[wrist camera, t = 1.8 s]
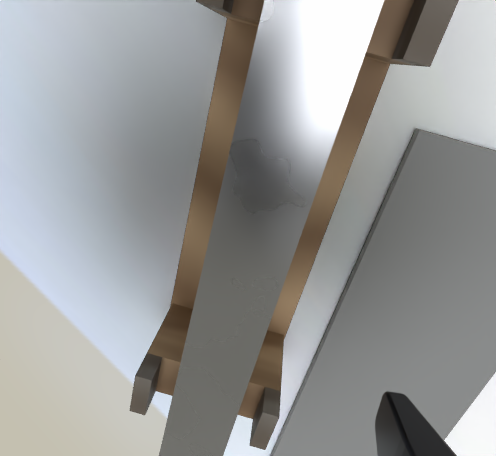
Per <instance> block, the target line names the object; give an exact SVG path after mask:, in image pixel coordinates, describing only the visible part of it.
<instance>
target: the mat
mask: <svg viewBox="0 0 496 456" xmlns="http://www.w3.org/2000/svg"><path fill="white" fill-rule="evenodd" d="M495 372H496V151H495V150H491V149H488V148H484V147H481V146H477V145H473V144H470V143H466V142H463V141H459V140H456V139H452V138H449V137H445V136H441V135H438V134H434V133H431V132H427V131H424V130H420V129H417V128H416V130H415V132H414V134H413V136H412V139H411V141H410V143H409V145H408V148H407V150H406V152H405V154H404V157H403V159H402V161H401V163H400V166H399V168H398V170H397V172H396V175H395V177H394V179H393V181H392V184H391V186H390V188H389V190H388V192H387V195H386V197H385V199H384V201H383V204H382V206H381V208H380V210H379V213H378V215H377V217H376V219H375V222H374V224H373V226H372V228H371V231H370V233H369V235H368V237H367V240H366V242H365V244H364V246H363V249H362V251H361V253H360V255H359V258H358V260H357V262H356V264H355V267H354V269H353V271H352V273H351V276H350V278H349V280H348V282H347V285H346V287H345V289H344V291H343V294H342V296H341V298H340V300H339V303H338V305H337V307H336V309H335V312H334V314H333V316H332V318H331V321H330V323H329V325H328V327H327V330H326V332H325V334H324V336H323V339H322V341H321V343H320V345H319V348H318V350H317V352H316V354H315V357H314V359H313V361H312V363H311V365H310V368H309V370H308V372H307V374H306V377H305V379H304V381H303V383H302V386H301V388H300V390H299V392H298V395H297V397H296V399H295V401H294V404H293V406H292V408H291V410H290V413H289V415H288V417H287V419H286V422H285V424H284V426H283V428H282V431H281V433H280V435H279V437H278V440H277V442H276V444H275V446H274V449H273V451H272V453H271V455H270V456H378V455H377V445H376V434H375V418H376V415H377V411H378V408H379V405H380V402H381V399H382V396H383V394H384V392H386V391H389V392H396V393H402V394H404V395H406V396H407V397H408V398H409V399H410V401H411V402H412V403H413V404H414V405H415V407H416V408H417V409H418V410H419V411H420V413H421V414H422V415H423V416H424V417H425V418H426V420H427V421H428V422H429V423H430V424H431V426H432V427H433V428H434V429H435V430H436V432H437V433H438V434H439V435H440V436H441V438H442V439H443V440H445V438H446V437H447V436H448V434H449V433H450V432H451V430H452V429H453V428H454V426H455V425H456V424H457V422H458V421H459V420H460V418H461V417H462V416H463V415H464V413H465V412H466V411H467V409H468V408H469V407H470V405H471V404H472V403H473V401H474V400H475V399H476V397H477V396H478V395H479V393H480V392H481V391H482V389H483V388H484V387H485V385H486V384H487V383H488V381H489V380H490V379H491V377H492V376H493V375H494V373H495Z"/></svg>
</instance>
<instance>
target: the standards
mask: <svg viewBox="0 0 496 456" xmlns="http://www.w3.org/2000/svg"><path fill="white" fill-rule="evenodd" d="M458 1H459V0H384V2H383V5H382V8H381V11H380V14H379V16H378V19H377V22H376V25H375V28H374V31H373V33H372V36H371V39H370V42H369V45H368V47H367V50H366V53H365V56H364V59H363V62H362V64H361V67H360V70H359V73H358V76H357V79H356V81H355V84H354V87H353V90H352V93H351V95H350V98H349V101H348V104H347V107H346V110H345V112H344V115H343V118H342V121H341V124H340V127H339V129H338V132H337V135H336V138H335V141H334V143H333V146H332V149H331V152H330V155H329V158H328V160H327V163H326V166H325V169H324V172H323V175H322V177H321V180H320V183H319V186H318V189H317V191H316V194H315V197H314V200H313V203H312V206H311V208H310V211H309V214H308V217H307V220H306V223H305V225H304V228H303V231H302V234H301V237H300V239H299V242H298V245H297V248H296V251H295V254H294V256H293V259H292V262H291V265H290V268H289V271H288V273H287V276H286V279H285V282H284V285H283V287H282V290H281V293H280V296H279V299H278V302H277V304H276V307H275V310H274V313H273V316H272V319H271V321H270V324H269V327H268V330H267V333H266V335H265V338H264V341H263V344H262V347H261V350H260V352H259V355H258V358H257V361H256V364H255V367H254V369H253V372H252V375H251V378H250V381H249V383H248V386H247V389H246V392H245V395H244V398H243V400H242V403H241V406H240V409H239V412H238V415H241V416H244V417H248V418H251V419H253V423H252V431H251V438H250V446H253V447H257V448H260V449H263V450H265V449H266V447H267V444H268V442H269V440H270V437H271V435H272V433H273V431H274V428H275V426H276V424H277V421H278V419H279V412H280V395H281V377H282V359H283V342H284V338H285V335H286V333H287V330H288V328H289V325H290V322H291V320H292V317H293V315H294V312H295V309H296V307H297V304H298V302H299V299H300V297H301V294H302V291H303V289H304V286H305V284H306V281H307V278H308V276H309V273H310V271H311V268H312V265H313V263H314V260H315V258H316V255H317V252H318V250H319V247H320V245H321V242H322V239H323V237H324V234H325V232H326V229H327V226H328V224H329V221H330V219H331V216H332V213H333V211H334V208H335V206H336V203H337V200H338V198H339V195H340V193H341V190H342V188H343V185H344V182H345V180H346V177H347V175H348V172H349V169H350V167H351V164H352V162H353V159H354V156H355V154H356V151H357V149H358V146H359V143H360V141H361V138H362V136H363V133H364V130H365V128H366V125H367V123H368V120H369V117H370V115H371V112H372V110H373V107H374V104H375V102H376V99H377V97H378V94H379V91H380V89H381V86H382V84H383V81H384V78H385V76H386V73H387V71H388V68H389V66H390V64H400V65H414V66H428V67H430V66H431V63H432V61H433V59H434V56H435V54H436V52H437V49H438V47H439V45H440V42H441V40H442V38H443V35H444V33H445V31H446V29H447V26H448V24H449V22H450V19H451V17H452V15H453V12H454V10H455V8H456V5H457V3H458ZM196 2H198V3H200V4H202V5H204V6H206V7H207V8H209V9H211V10H213V11H215V12H217V13H219V14H220V15H222V16H224V17H226V18H227V22H226V27H225V32H224V37H223V42H222V47H221V52H220V57H219V62H218V67H217V72H216V78H215V83H214V88H213V93H212V98H211V103H210V108H209V113H208V118H207V123H206V128H205V133H204V138H203V144H202V149H201V154H200V159H199V164H198V169H197V174H196V179H195V184H194V189H193V194H192V199H191V204H190V209H189V215H188V220H187V225H186V230H185V235H184V240H183V245H182V250H181V255H180V260H179V265H178V270H177V275H176V281H175V286H174V291H173V296H172V301H171V306H170V309H169V311H168V313H167V315H166V317H165V319H164V321H163V323H162V325H161V327H160V329H159V331H158V333H157V335H156V337H155V339H154V340H153V342H152V344H151V346H150V348H149V350H148V352H147V354H146V356H145V358H144V360H143V362H142V364H141V366H140V368H139V370H138V371H137V373H136V375H135V381H134V387H133V393H132V400H131V405H130V411H132V412H136V413H139V414H142V415H145V414H146V412H147V410H148V407H149V405H150V403H151V400H152V398H153V396H154V393H155V391H158V392H161V393H165V394H168V395H172V396H173V393H174V389H175V384H176V380H177V376H178V371H179V367H180V363H181V359H182V354H183V350H184V346H185V341H186V337H187V333H188V328H189V324H190V320H191V315H192V311H193V307H194V302H195V298H196V294H197V289H198V285H199V281H200V276H201V272H202V268H203V264H204V259H205V255H206V251H207V246H208V242H209V238H210V233H211V229H212V225H213V220H214V216H215V212H216V207H217V203H218V199H219V194H220V190H221V186H222V181H223V177H224V173H225V169H226V164H227V160H228V156H229V151H230V147H231V143H232V138H233V134H234V130H235V125H236V121H237V117H238V112H239V108H240V104H241V99H242V95H243V91H244V87H245V82H246V78H247V74H248V69H249V65H250V61H251V56H252V52H253V48H254V43H255V39H256V35H257V30H258V26H259V22H260V17H261V13H262V9H263V4H264V0H196Z"/></svg>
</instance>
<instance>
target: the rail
mask: <svg viewBox="0 0 496 456" xmlns="http://www.w3.org/2000/svg"><path fill="white" fill-rule="evenodd" d="M383 2H384V0H264V4H263V9H262V13H261V17H260V22H259V26H258V30H257V35H256V39H255V43H254V48H253V52H252V56H251V61H250V65H249V69H248V74H247V78H246V82H245V87H244V91H243V95H242V99H241V104H240V108H239V112H238V117H237V121H236V125H235V130H234V134H233V138H232V143H231V147H230V151H229V156H228V160H227V164H226V169H225V173H224V177H223V181H222V186H221V190H220V194H219V199H218V203H217V207H216V212H215V216H214V220H213V225H212V229H211V233H210V238H209V242H208V246H207V251H206V255H205V259H204V264H203V268H202V272H201V276H200V281H199V285H198V289H197V294H196V298H195V302H194V307H193V311H192V315H191V320H190V324H189V328H188V333H187V337H186V341H185V346H184V350H183V354H182V359H181V363H180V367H179V371H178V376H177V380H176V384H175V389H174V393H173V397H172V402H171V406H170V410H169V415H168V419H167V423H166V428H165V432H164V437H163V441H162V445H161V449H160V453H159V456H223V454H224V451H225V448H226V446H227V443H228V440H229V437H230V434H231V431H232V429H233V426H234V423H235V420H236V417H237V415H238V412H239V409H240V406H241V403H242V400H243V398H244V395H245V392H246V389H247V386H248V383H249V381H250V378H251V375H252V372H253V369H254V367H255V364H256V361H257V358H258V355H259V352H260V350H261V347H262V344H263V341H264V338H265V335H266V333H267V330H268V327H269V324H270V321H271V319H272V316H273V313H274V310H275V307H276V304H277V302H278V299H279V296H280V293H281V290H282V287H283V285H284V282H285V279H286V276H287V273H288V271H289V268H290V265H291V262H292V259H293V256H294V254H295V251H296V248H297V245H298V242H299V239H300V237H301V234H302V231H303V228H304V225H305V223H306V220H307V217H308V214H309V211H310V208H311V206H312V203H313V200H314V197H315V194H316V191H317V189H318V186H319V183H320V180H321V177H322V175H323V172H324V169H325V166H326V163H327V160H328V158H329V155H330V152H331V149H332V146H333V143H334V141H335V138H336V135H337V132H338V129H339V127H340V124H341V121H342V118H343V115H344V112H345V110H346V107H347V104H348V101H349V98H350V95H351V93H352V90H353V87H354V84H355V81H356V79H357V76H358V73H359V70H360V67H361V64H362V62H363V59H364V56H365V53H366V50H367V47H368V45H369V42H370V39H371V36H372V33H373V31H374V28H375V25H376V22H377V19H378V16H379V14H380V11H381V8H382V5H383Z"/></svg>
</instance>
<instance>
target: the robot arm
mask: <svg viewBox="0 0 496 456" xmlns="http://www.w3.org/2000/svg"><path fill="white" fill-rule="evenodd" d="M375 434H376V445H377V455H378V456H457V455H456V454H455V453H454V452H453V451H452V449H451V448H450V447H449V446H448V445H447V444H446V442H445V441H444V440H443V439H442V438H441V436H440V435H439V434H438V433H437V432H436V430H435V429H434V428H433V427H432V426H431V424H430V423H429V422H428V421H427V420H426V418H425V417H424V416H423V415H422V414H421V413H420V411H419V410H418V409H417V408H416V407H415V405H414V404H413V403H412V402H411V401H410V399H409V398H408V397H407V396H406V395H404V394H402V393H396V392H389V391H386V392H384V394H383V396H382V399H381V402H380V405H379V408H378V411H377V415H376V418H375Z"/></svg>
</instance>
